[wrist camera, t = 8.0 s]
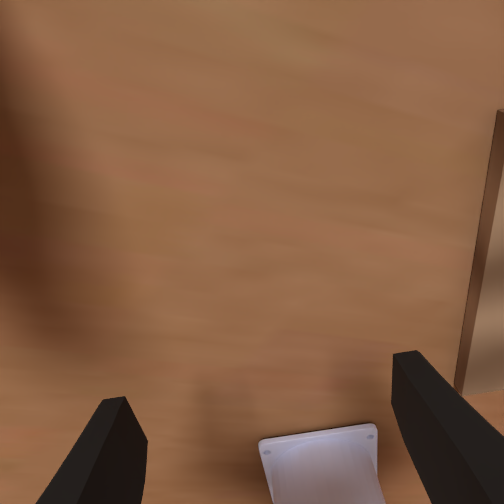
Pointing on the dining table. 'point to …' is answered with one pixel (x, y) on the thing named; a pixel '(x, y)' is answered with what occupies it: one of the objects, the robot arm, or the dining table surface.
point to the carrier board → (486, 288)
